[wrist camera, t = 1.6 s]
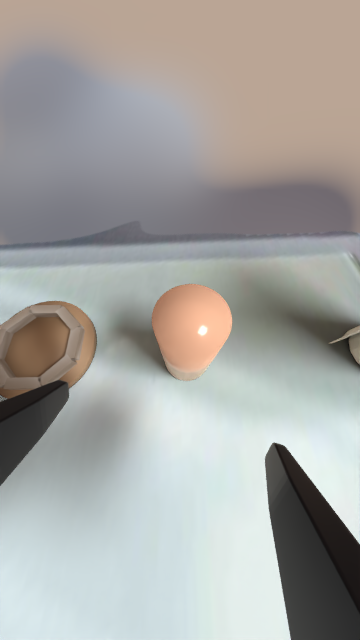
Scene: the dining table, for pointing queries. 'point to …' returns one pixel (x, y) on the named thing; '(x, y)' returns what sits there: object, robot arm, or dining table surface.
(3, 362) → the flange seat
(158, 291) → the dining table surface
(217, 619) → the dining table surface
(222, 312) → the peach rounded knob
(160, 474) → the dining table surface
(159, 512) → the dining table surface
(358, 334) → the paper towel roll
